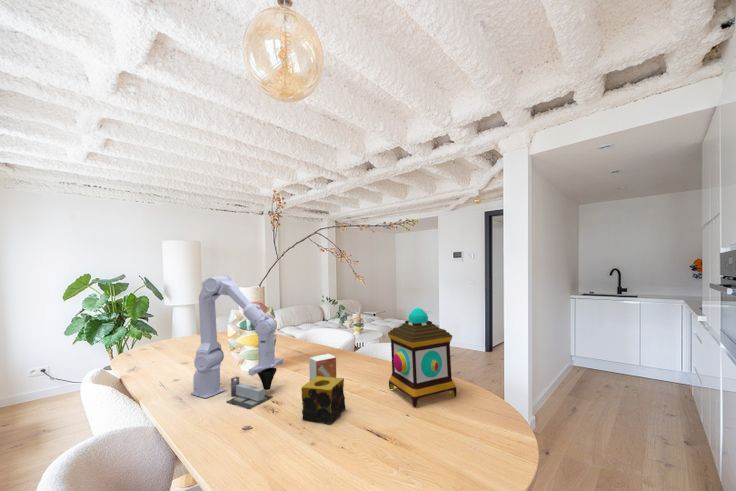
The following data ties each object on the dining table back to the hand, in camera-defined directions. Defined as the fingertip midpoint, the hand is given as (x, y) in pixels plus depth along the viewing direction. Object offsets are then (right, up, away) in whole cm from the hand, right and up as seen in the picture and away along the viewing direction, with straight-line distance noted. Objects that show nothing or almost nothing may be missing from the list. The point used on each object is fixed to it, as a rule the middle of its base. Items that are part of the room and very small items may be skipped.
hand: (267, 389), depth 113 cm
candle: (+24, 0, -18) cm, 30 cm away
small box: (+21, -1, -2) cm, 21 cm away
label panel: (-4, -1, -5) cm, 7 cm away
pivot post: (-12, -2, 0) cm, 12 cm away
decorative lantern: (+56, 0, -5) cm, 56 cm away
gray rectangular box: (-5, -1, -4) cm, 6 cm away
